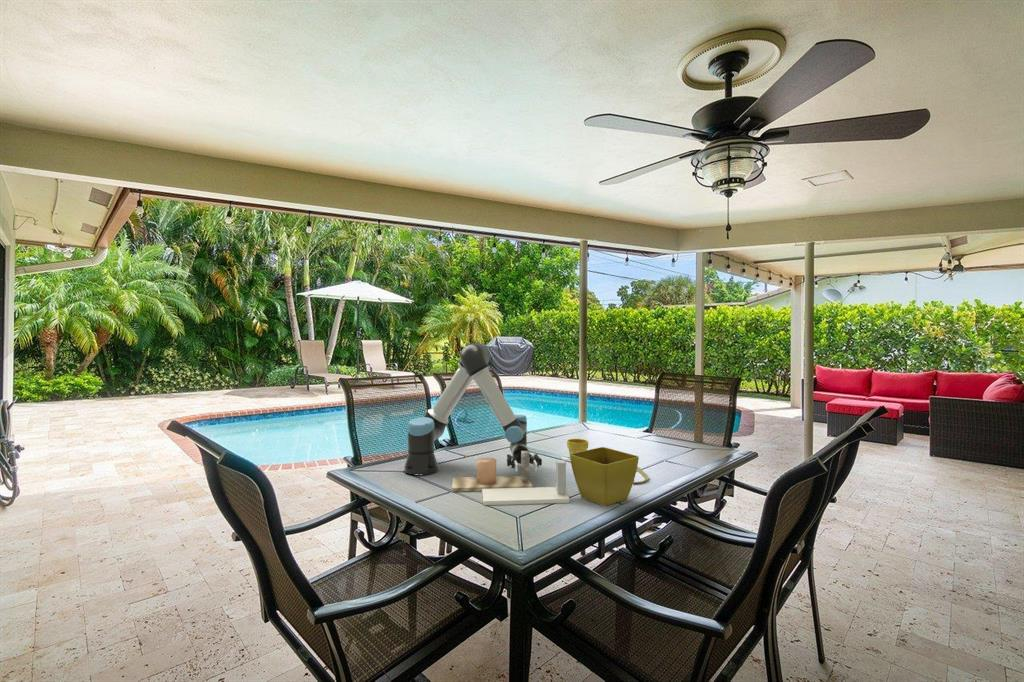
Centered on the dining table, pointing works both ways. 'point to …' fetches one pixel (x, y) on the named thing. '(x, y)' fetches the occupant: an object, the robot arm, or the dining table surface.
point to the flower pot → (604, 474)
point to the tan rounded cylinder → (486, 471)
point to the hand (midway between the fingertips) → (526, 467)
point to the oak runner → (501, 481)
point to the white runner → (530, 492)
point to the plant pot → (577, 445)
